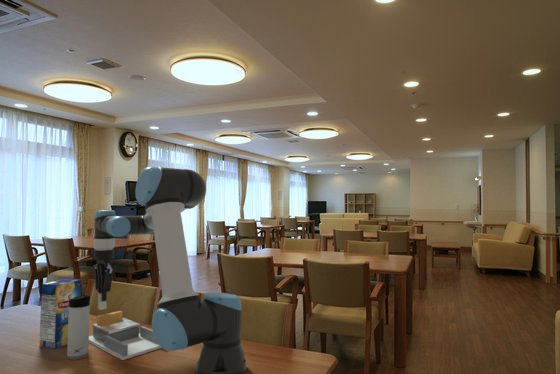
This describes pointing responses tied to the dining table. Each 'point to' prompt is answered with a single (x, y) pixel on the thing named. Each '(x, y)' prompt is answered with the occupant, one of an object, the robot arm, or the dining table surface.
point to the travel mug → (78, 327)
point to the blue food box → (56, 311)
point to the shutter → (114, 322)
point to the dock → (125, 342)
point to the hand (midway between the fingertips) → (102, 308)
